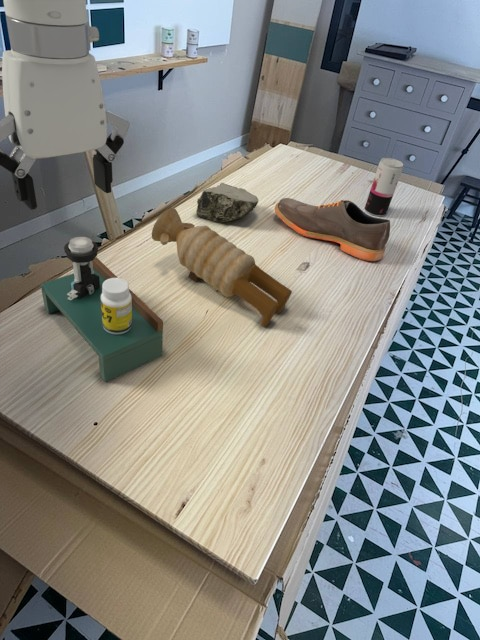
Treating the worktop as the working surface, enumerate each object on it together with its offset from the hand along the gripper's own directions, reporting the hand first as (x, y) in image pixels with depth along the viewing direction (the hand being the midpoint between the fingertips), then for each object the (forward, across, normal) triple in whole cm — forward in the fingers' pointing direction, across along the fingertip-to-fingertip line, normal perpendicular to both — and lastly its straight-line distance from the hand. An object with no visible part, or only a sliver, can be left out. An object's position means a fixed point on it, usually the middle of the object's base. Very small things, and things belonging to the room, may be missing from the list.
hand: (67, 196), depth 58 cm
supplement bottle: (+24, -6, 0) cm, 25 cm away
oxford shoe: (+31, -72, -8) cm, 79 cm away
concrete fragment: (+31, -55, -29) cm, 69 cm away
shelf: (+30, -6, -6) cm, 31 cm away
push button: (+24, -5, -11) cm, 27 cm away
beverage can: (+31, -97, -10) cm, 102 cm away
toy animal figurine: (+31, -32, -5) cm, 44 cm away
